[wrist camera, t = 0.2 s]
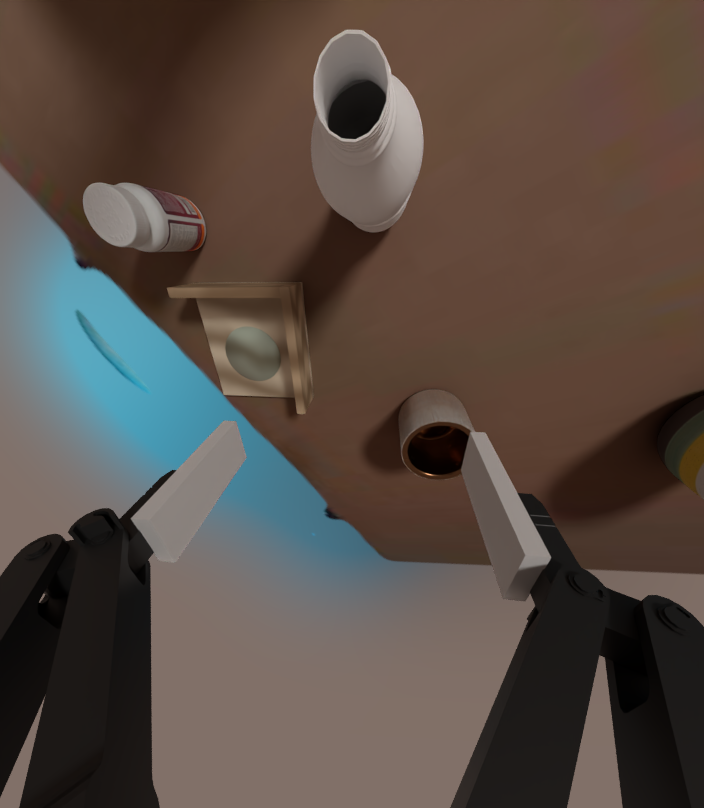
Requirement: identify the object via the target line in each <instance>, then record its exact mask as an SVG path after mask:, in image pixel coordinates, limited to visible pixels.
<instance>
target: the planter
mask: <svg viewBox="0 0 704 808" xmlns="http://www.w3.org/2000/svg"><path fill="white" fill-rule="evenodd" d="M398 423H399V434H400V446H401V456H402V460H403V462H404V464H405V466H406V467H407V468H408V469H409V470H410V471H411V472H413V473H414V474H416V475H418V476H420V477H422V478H426V479H431V480H446V479H451V478H455V477H457V476H460V475H462V472H461V468H462V464H463V460H464V456H465V451H466V447H467V443H468V439H469V435H470V432H475V430H474V428H473V426H472V424H471V422H470V419H469V417H468V415H467V412H466V410H465V408H464V406H463V404H462V403H461V401H460V400H459V399H458V398H457V397H456V396H454V395H453V394H451V393H449V392H447V391H444V390H438V389H430V390H424V391H421V392H418V393H416V394H414V395H412V396H411V397H410V398H408V399H407V400H406V401H405V403H404V404H403V405H402V407H401V409H400V412H399V417H398Z"/></svg>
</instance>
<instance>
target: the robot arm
mask: <svg viewBox="0 0 704 808" xmlns="http://www.w3.org/2000/svg"><path fill="white" fill-rule="evenodd" d="M245 459H246V454H245V450H244V447H243V444H242V440H241V437H240V433H239V430H238V426H237V423H236V421H223V422H222V423H221V424H220V425H219V426H218V427H217V429H216V430H215V431H214V432H213V433H212V434H211V435H210V436H209V437H208V438H207V439H206V440H205V441H204V442H203V443H202V444H201V445H200V446H199V448H197V450H196V451H195V452H194V453H193V454H192V455H191V456H190V457H189V458H188V459H187V460H186V461H185V462H184V463H183V464H182V465H181V466H180V467H179V468H178V470H172V471H170V472H168V473H167V474H165V475H164V476H162V477H161V478H160V479H159V480H158V481H157V482H156V483H155V484H154V485H153V486H152V488H150V489H149V490H148V491H147V492H146V494H145V495H143V496H142V497H141V498H140V499H139V500H138V501H137V502H136V503H135V504H134V505H133V506H132V507H131V508H130V509H129V510H128V511H127V512H126V513H125V514H124V515H123V516H122V517H121V518H120V519H118V517H117V516H116V514H115V513H114V511H113V510H111V509H109V508H107V509H106V508H104V509H99V510H95V511H93V512H91V513H89V514H86V515H85V516H83V517H82V518H80V519H79V520H77V522H75V523H74V524H73V525H72V526H71V528H70V530H69V531H68V533H69V534H70V535H71V536H72V537H73V539H74V540H70V541H65V539H64V538H63V537H62V536H61V535H58V534H51V535H47V536H44V537H41V538H39V539H37V540H35V541H33V542H31V543H30V544H28V545H27V546H26V547H25V548H23V549H22V550H21V551H20V552H19V553H18V554H17V555H16V556H15V557H14V559H13V560H12V561H11V563H10V564H9V565H8V567H7V568H6V569H5V571H4V572H3V573H2V575H1V576H0V796H1V794H2V792H3V790H4V787H5V785H6V783H7V781H8V778H9V776H10V774H11V771H12V769H13V767H14V765H15V762H16V760H17V758H18V756H19V753H20V751H21V749H22V747H23V744H24V742H25V740H26V738H27V735H28V733H29V731H30V728H31V726H32V724H33V722H34V719H35V717H36V715H37V713H38V710H39V708H40V706H41V704H42V701H43V699H44V697H45V699H44V704H43V708H42V712H41V717H40V721H39V726H38V730H37V734H36V738H35V742H34V747H33V751H32V756H31V760H30V764H29V768H28V772H27V777H26V781H25V786H24V790H23V794H22V798H21V803H20V807H19V808H160V807H159V802H158V798H157V794H156V792H155V789H154V786H153V780H152V735H151V734H152V731H151V728H152V727H151V725H152V724H151V596H150V595H151V594H150V593H151V591H150V563H149V561H148V559H149V558H150V557H151V555H152V554H153V553H154V554H155V555H156V557H157V558H158V560H159V561H165V562H174V563H175V562H176V561H177V560H178V558H179V557H180V555H181V554H182V552H183V551H184V549H185V548H186V546H187V545H188V543H189V542H190V541H191V539H192V537H193V536H194V535H195V533H196V532H197V530H198V529H199V527H200V526H201V524H202V523H203V521H204V520H205V518H206V516H207V515H208V514H209V512H210V511H211V509H212V508H213V506H214V505H215V503H216V502H217V501H218V499H219V498H220V496H221V495H222V493H223V492H224V490H225V489H226V487H227V486H228V484H229V483H230V481H231V480H232V478H233V477H234V475H235V474H236V472H237V471H238V469H239V468H240V466H241V465H242V463H243V462H244V461H245ZM461 472H462V475H463V478H464V482H465V485H466V488H467V491H468V494H469V497H470V500H471V503H472V506H473V509H474V512H475V515H476V518H477V521H478V524H479V527H480V530H481V533H482V536H483V539H484V542H485V545H486V549H487V552H488V555H489V558H490V561H491V564H492V567H493V570H494V573H495V575H496V579H497V582H498V585H499V588H500V591H501V594H502V597H503V599H508V600H517V601H526V599H527V598H528V596H529V594H531V596H532V598H533V601H534V603H535V607H534V609H533V610H532V612H531V613H530V615H529V616H528V618H527V620H528V623H527V625H526V628H525V630H524V633H523V635H522V637H521V640H520V642H519V644H518V647H517V649H516V652H515V654H514V656H513V659H512V661H511V664H510V666H509V668H508V671H507V673H506V676H505V678H504V681H503V683H502V685H501V688H500V690H499V692H498V695H497V697H496V699H495V702H494V704H493V707H492V709H491V711H490V714H489V716H488V719H487V721H486V723H485V726H484V728H483V731H482V733H481V735H480V738H479V740H478V743H477V745H476V747H475V750H474V752H473V755H472V757H471V759H470V762H469V764H468V767H467V769H466V771H465V774H464V776H463V779H462V781H461V783H460V786H459V788H458V790H457V793H456V795H455V798H454V800H453V803H452V805H451V807H450V808H567V804H568V800H569V795H570V790H571V786H572V781H573V776H574V772H575V767H576V762H577V757H578V753H579V747H580V743H581V739H582V734H583V729H584V724H585V719H586V715H587V710H588V706H589V701H590V696H591V691H592V687H593V682H594V677H595V672H596V668H597V663H598V658H599V655H600V656H603V657H605V661H606V670H607V679H608V687H609V695H610V704H611V712H612V721H613V729H614V738H615V745H616V754H617V763H618V770H619V780H620V788H621V796H622V805H623V808H704V627H703V625H702V624H701V623H700V622H699V621H698V620H697V619H696V618H695V617H694V616H693V615H692V614H691V613H690V612H688V611H687V610H686V609H684V608H683V607H682V606H680V605H679V604H677V603H675V602H673V601H671V600H669V599H667V598H664V597H661V596H658V595H648V596H647V597H645V598H644V599H643V600H642V601H639V600H637V599H634V598H632V597H629V596H626V595H624V594H621V593H618V592H616V591H613V590H611V589H609V588H606V587H605V586H604V585H603V584H602V583H601V582H600V581H599V580H598V579H597V578H596V577H595V576H594V575H592V574H591V573H590V572H588V571H587V570H585V569H583V568H581V566H580V565H579V564H578V562H577V560H576V559H575V557H574V555H573V554H572V552H571V551H570V549H569V547H568V546H567V544H566V542H565V541H564V539H563V537H562V536H561V534H560V532H559V531H558V529H557V528H556V527H555V524H554V522H553V521H552V519H551V518H550V517H549V514H548V512H547V511H546V509H545V507H544V506H543V504H542V503H541V502H540V501H538V500H537V499H536V498H535V497H534V496H533V495H532V494H523V493H517V492H516V490H515V488H514V486H513V484H512V482H511V480H510V478H509V477H508V475H507V473H506V471H505V469H504V467H503V465H502V463H501V461H500V460H499V458H498V456H497V454H496V452H495V450H494V448H493V446H492V444H491V442H490V441H489V439H488V437H487V435H486V433H482V432H470V435H469V439H468V443H467V447H466V451H465V456H464V460H463V464H462V468H461ZM43 593H44V594H46V595H45V597H44V598H43V600H42V601H41V602H40V603H39V601H40V599H41V597H42V595H43ZM45 694H46V695H45Z"/></svg>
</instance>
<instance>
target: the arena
mask: <svg viewBox="0 0 704 808" xmlns="http://www.w3.org/2000/svg"><path fill="white" fill-rule="evenodd" d="M167 291H168V294H169V297H170V298H196V301H197V304H198V308H199V311H200V314H201V318H202V321H203V325H204V328H205V332H206V335H207V338H208V342H209V345H210V349H211V352H212V356H213V359H214V362H215V366H216V369H217V373H218V376H219V379H220V383H221V386H222V390H223V393H224V395H240V396H265V397H290V398H295V401H296V408H297V414H305V413H306V411H307V409H308V407H309V405H310V403H311V401H312V399H313V397H314V393H313V383H312V373H311V364H310V354H309V344H308V334H307V325H306V315H305V305H304V295H303V286H302V282H239V283H191V284H186V285H180V286H175V287H169V288H167Z"/></svg>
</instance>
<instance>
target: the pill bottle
mask: <svg viewBox="0 0 704 808" xmlns="http://www.w3.org/2000/svg"><path fill="white" fill-rule="evenodd" d="M83 207H84V211H85V214H86V217H87V219H88V221H89V223H90V225H91V226H92V228H93V229H94V230H95V232H96V233H97V234H98V235H99V236H100V237H101V238H102V239H104V240H105V241H106V242H108V243H110V244H112V245H114V246H118V247H130V248H135V249H138V250H140V251H144V252H181V251H194V250H197V249H199V248H200V247H201V246H202V245H203V243H204V241H205V237H206V226H205V222H204V219H203V216H202V214H201V212H200V211H199V209H198V208H197V207H196V206H195V205H194V204H193V203H192V202H191V201H190V200H188V199H187V198H185V197H183V196H180V195H177V194H173V193H169V192H165V191H161V190H157V189H153V188H149V187H145V186H141V185H137V184H132V183H119V184H116V185H110V184H106V183H93V184H91V185H89V186H88V187H87V188H86V190H85V192H84V195H83Z"/></svg>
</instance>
